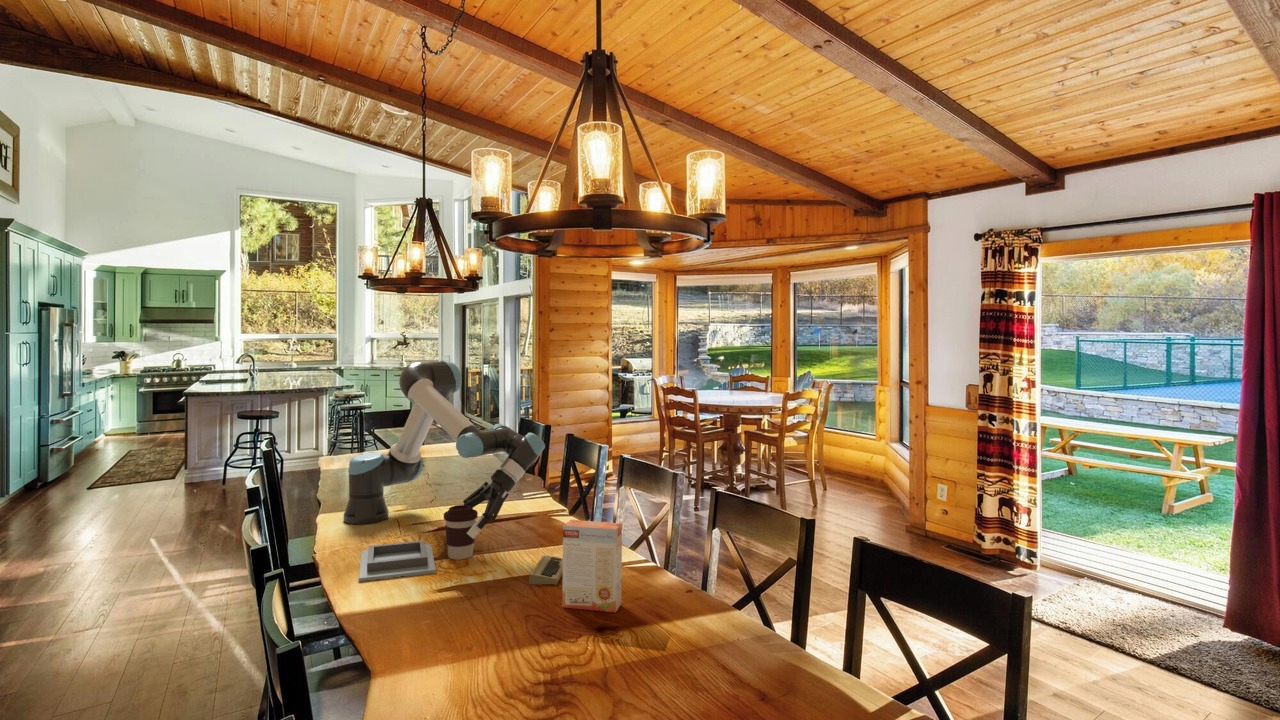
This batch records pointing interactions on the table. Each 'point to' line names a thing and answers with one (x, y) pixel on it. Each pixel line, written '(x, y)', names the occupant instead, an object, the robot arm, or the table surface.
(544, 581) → the computer
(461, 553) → the coffee cup
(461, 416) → the robot arm
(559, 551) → the table surface
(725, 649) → the table surface
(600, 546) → the cracker box
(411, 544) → the pocket plate
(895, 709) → the table surface
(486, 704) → the table surface
